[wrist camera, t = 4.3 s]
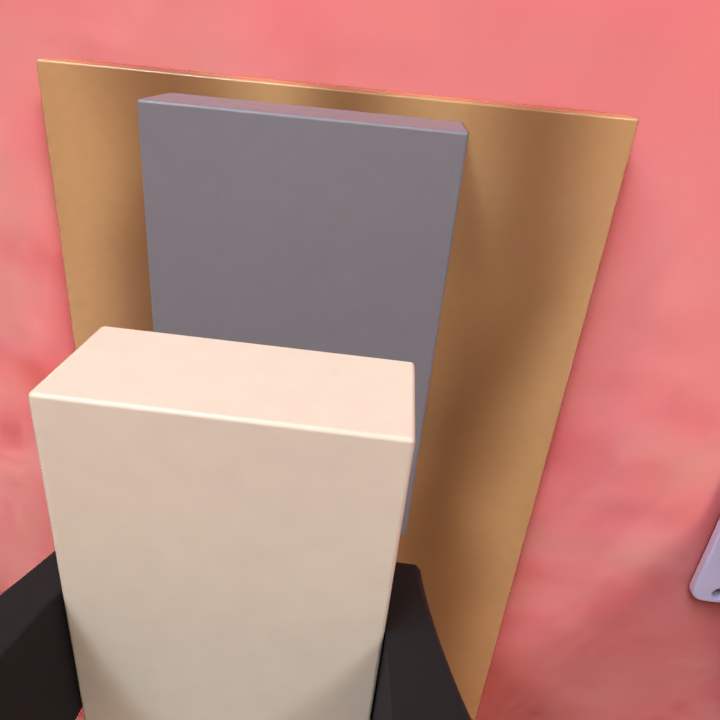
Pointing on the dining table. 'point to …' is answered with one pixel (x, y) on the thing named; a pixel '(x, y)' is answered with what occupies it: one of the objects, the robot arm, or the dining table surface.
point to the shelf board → (459, 308)
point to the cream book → (224, 523)
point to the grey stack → (301, 227)
